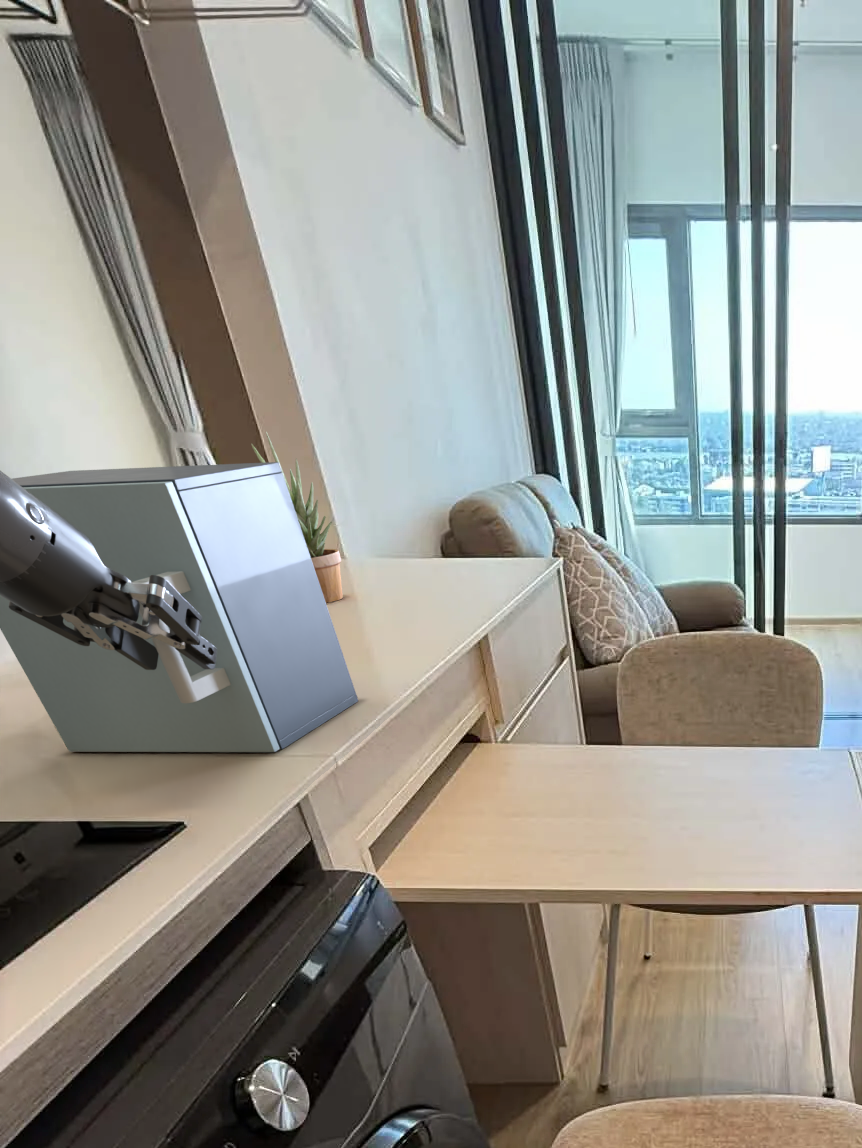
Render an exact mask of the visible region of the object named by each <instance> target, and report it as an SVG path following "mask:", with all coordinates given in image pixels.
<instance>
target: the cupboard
mask: <svg viewBox="0 0 862 1148" xmlns="http://www.w3.org/2000/svg"><path fill="white" fill-rule="evenodd" d="M279 462H280V461H279ZM279 462H275V461H272V462H271V461H270V462H269V461H267V462H265V463H261V462H248V463H247V462H245V463H223V464H222V463H221V464H201V465H199V464H198V465H197V464H196V465H175V466H173V465H172V466H155V467H154V466H153V467H152V466H151V467H150V466H149V467H129V468H128V467H127V468H106V469H86V470H85V469H83V470H81V469H80V470H66V471H59V472H52V473H44V474H36V475H28V476H21V477H13V478H12V477H11V479H12V480H14V481H15V482H16V483H17V484H19V485H20V486H21V487H46V486H71V485H96V484H121V483H146V482H172V483H173V485H174V487H175V490H176V492H177V495H178V497H179V500H180V502H181V505H182V507H183V510H184V512H185V515H186V517H187V520H188V522H189V525H190V527H191V530H192V532H193V535H194V537H195V539H196V542H197V544H198V547H199V549H200V552H201V554H202V557H203V559H204V562H205V564H206V567H207V569H208V572H209V574H210V577H211V579H212V582H213V584H214V587H215V589H216V592H217V594H218V596H219V599H220V601H221V604H222V606H223V609H224V611H225V614H226V616H227V619H228V621H229V624H230V626H231V629H232V631H233V634H234V636H235V639H236V641H237V644H238V646H239V649H240V651H241V653H242V656H243V658H244V661H245V663H246V666H247V668H248V671H249V673H250V676H251V678H252V681H253V683H254V686H255V688H256V691H257V693H258V696H259V698H260V701H261V703H262V706H263V708H264V710H265V713H266V715H267V718H268V720H269V723H270V725H271V728H272V730H273V733H274V735H275V738H276V740H277V743H278V745H279V748H280V749H279V750H284V749H285V748H287V747H289V746H290V745H291V744H293V743H294V742H296V741H298V740H299V739H301V738H303V737H304V736H306V735H308V734H309V733H311V732H312V731H314V730H315V729H317V728H319V727H320V726H322V725H324V724H325V723H326V722H328V721H330V720H331V719H333V718H334V717H336V716H338V715H339V714H340V713H342V712H344V711H345V710H347V709H349V708H350V707H352V706H353V705H356V703H358V702H359V698H358V695H357V692H356V688H355V686H354V683H353V680H352V677H351V674H350V671H349V668H348V665H347V662H346V659H345V656H344V653H343V650H342V646H341V644H340V641H339V638H338V635H337V633H336V629H335V627H334V624H333V620H332V617H331V614H330V611H329V608H328V604H327V603H326V602H325V599H324V596H323V593H322V590H321V587H320V584H319V581H318V578H317V575H316V572H315V569H314V566H313V563H312V560H311V557H310V554H309V551H308V548H307V545H306V542H305V539H304V536H303V533H302V530H301V527H300V524H299V521H298V518H297V515H296V512H295V509H294V506H293V503H292V500H291V497H290V494H289V491H288V488H287V485H286V482H285V479H284V476H283V473H281V472H282V471H281V468H282V467H281V468H280V465H281V464H280V465H279Z"/></svg>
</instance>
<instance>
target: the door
mask: <svg viewBox="0 0 862 1148" xmlns="http://www.w3.org/2000/svg"><path fill="white" fill-rule="evenodd" d="M23 488H24V489H25V490H27V491H28V492H29V493H31V494H32V495H33V496H35V497H36V498H37V499H39V500H40V501H41V502H43V503H44V504H45V505H46V506H48V507H49V508H50V509H52V510H53V511H54V512H56V513H57V514H58V515H60V516H61V517H62V518H64V519H65V520H66V521H68V522H69V523H70V524H72V525H73V526H74V527H75V528H77V529H78V530H79V531H81V532H82V533H83V534H84V535H85V536H86V537H87V538H88V539H89V540H90V541H91V543H92V545H93V546H94V548H95V550H96V552H97V554H98V556H99V558H100V560H101V561H102V563H103V564H104V565H105V566H106V567H108V568H110V569H112V570H113V571H115V572H118V573H120V574H122V575H124V576H125V577H127V578H128V579H129V580H130V581H131V582H132V583H142V584H149V579H150V576H151V575H157V576H160V577H162V578H164V579H166V580H167V581H168V582H169V583H170V584H171V585H172V586H173V587H174V588H175V589H176V590H177V592H178V593H179V594H180V595H181V596H182V597H183V598H184V599H185V600H186V601H187V602H188V603H189V604H190V605H191V606H192V607H193V608H194V609H195V610H196V611H197V612H198V613H199V614H200V615H201V616H202V622H201V624H200V631H199V635H200V636H202V637H203V638H204V639H206V640H207V641H208V642H209V643H211V644H212V645H214V646H215V647H216V649H217V656H216V664H215V668H214V669H203V668H202V667H200V666H199V665H197V664H196V663H195V662H193V661H192V660H190V659H189V658H187V657H186V656H184V655H183V654H182V653H180V652H179V651H177V650H176V649H175V647H173V646H170V645H168V644H166V643H164V642H162V641H160V640H158V639H156V638H150V639H144V640H146V641H147V642H149V643H150V644H152V645H153V646H155V647H156V649H157V651H158V654H159V655H158V662H157V668H156V669H155V670H146V669H144V668H142V667H141V666H139V665H138V664H136V663H134V662H133V661H131V660H130V659H128V658H127V657H125V656H123V655H122V654H120V653H119V652H117V651H116V650H108V649H104V648H102V647H100V646H99V645H98V644H97V643H96V642H91V641H90V646H82V645H79V644H77V643H75V642H73V641H71V640H69V639H67V638H65V637H63V636H61V635H59V634H57V633H55V632H53V631H51V630H50V629H48V628H46V627H44V626H42V625H40V624H38V623H36V622H34V621H32V620H30V619H28V618H26V617H24V616H22V615H20V614H18V613H16V612H14V611H12V610H11V609H10V608H9V602H10V601H9V600H7V599H6V598H4V597H2V596H1V595H0V631H1V633H2V635H3V636H4V638H5V640H6V642H7V643H8V645H9V647H10V649H11V651H12V652H13V654H14V656H15V658H16V660H17V661H18V664H19V665H20V667H21V668H22V670H23V672H24V674H25V676H26V678H27V679H28V680H29V683H30V685H31V686H32V688H33V690H34V692H35V693H36V696H37V697H38V699H39V701H40V702H41V704H42V706H43V708H44V710H45V711H46V713H47V715H48V716H49V719H50V720H51V723H52V724H53V726H54V727H55V729H56V731H57V733H58V735H59V736H60V738H61V740H62V742H63V743H64V745H65V747H66V749H67V751H68V752H69V753H71V752H73V753H75V752H76V753H78V752H79V753H80V752H81V753H127V752H128V753H276V752H278V751H279V750H281V749H280V748H279V745H278V743H277V740H276V738H275V735H274V733H273V730H272V728H271V725H270V723H269V720H268V718H267V715H266V713H265V710H264V708H263V706H262V703H261V701H260V698H259V696H258V693H257V691H256V688H255V686H254V683H253V681H252V678H251V676H250V673H249V671H248V668H247V666H246V663H245V661H244V658H243V656H242V653H241V651H240V649H239V646H238V644H237V641H236V639H235V636H234V634H233V631H232V629H231V626H230V624H229V621H228V619H227V616H226V614H225V611H224V609H223V606H222V604H221V601H220V599H219V596H218V594H217V592H216V589H215V587H214V584H213V582H212V579H211V577H210V574H209V572H208V569H207V567H206V564H205V562H204V559H203V557H202V554H201V552H200V549H199V547H198V544H197V542H196V539H195V537H194V535H193V532H192V530H191V527H190V525H189V522H188V520H187V517H186V515H185V512H184V510H183V507H182V505H181V502H180V500H179V497H178V495H177V492H176V490H175V487H174V485H173V483H172V482H146V483H121V484H96V485H71V486H46V487H23ZM139 604H140V609H139V616H138V620H137V622H136V623H139V624H141V625H142V620H143V613H144V607H143V606H142V604H141V603H140V602H139ZM63 623H64V624H65V625H66V626H67V627H69V628H71V629H73V630H74V625H73V624H72V623H70V622H67V621H66V620H65V619H63ZM159 627H160V628H161V629H162V630H164V631H166V632H168V633H170V628H169V627H168V626H167V625H166V624H165V623H164V622H163V621H162V620H159Z"/></svg>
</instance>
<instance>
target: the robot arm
mask: <svg viewBox="0 0 862 1148" xmlns="http://www.w3.org/2000/svg"><path fill="white" fill-rule="evenodd" d="M0 595H1V596H2V597H4V598H6V599H7V600H9V601H10V602H9V608H10V609H11V610H12V611H14V612H16V613H18V614H20V615H22V616H24V617H26V618H28V619H30V620H32V621H34V622H36V623H38V624H40V625H42V626H44V627H46V628H48V629H50V630H51V631H53V632H55V633H57V634H59V635H61V636H63V637H65V638H67V639H69V640H71V641H73V642H75V643H77V644H79V645H82V646H90V641H91V642H96V643H97V644H98V645H99V646H100V647H102V648H104V649H108V650H116V651H117V652H119V653H120V654H122V655H123V656H125V657H127V658H128V659H130V660H131V661H133V662H134V663H136V664H138V665H139V666H141V667H142V668H144V669H146V670H155V669H156V668H157V662H158V655H159V654H158V651H157V649H156V647H155V646H153V645H152V644H150V643H149V642H147V641H146V640H144V639H150V638H156V639H158V640H160V641H162V642H164V643H166V644H168V645H170V646H173V647H175V649H176V650H177V651H179V652H180V653H182V654H183V655H184V656H186V657H187V658H189V659H190V660H192V661H193V662H195V663H196V664H197V665H199V666H200V667H202V668H203V669H214V668H215V664H216V656H217V649H216V647H215V646H214V645H212V644H211V643H209V642H208V641H207V640H206V639H204V638H203V637H202V636H200V635H199V631H200V624H201V622H202V616H201V615H200V614H199V613H198V612H197V611H196V610H195V609H194V608H193V607H192V606H191V605H190V604H189V603H188V602H187V601H186V600H185V599H184V598H183V597H182V596H181V595H180V594H179V593H178V592H177V590H176V589H175V588H174V587H173V586H172V585H171V584H170V583H169V582H168V581H167V580H166V579H164V578H162V577H160V576H157V575H151V576H150V579H149V584H142V583H132V582H131V581H130V580H129V579H128V578H127V577H125V576H124V575H122V574H120V573H118V572H115V571H113V570H112V569H110V568H108V567H106V566H105V565H104V564H103V563H102V561H101V560H100V558H99V556H98V554H97V552H96V550H95V548H94V546H93V545H92V543H91V541H90V540H89V539H88V538H87V537H86V536H85V535H84V534H83V533H82V532H81V531H79V530H78V529H77V528H75V527H74V526H73V525H72V524H70V523H69V522H68V521H66V520H65V519H64V518H62V517H61V516H60V515H58V514H57V513H56V512H54V511H53V510H52V509H50V508H49V507H48V506H46V505H45V504H44V503H43V502H41V501H40V500H39V499H37V498H36V497H35V496H33V495H32V494H31V493H29V492H28V491H27V490H25V489H24V488H23V487H21V486H20V485H19V484H17V483H16V482H15V481H14V480H12V477H10V476H9V475H7V474H6V473H5V472H3V471H2V470H0ZM139 602H140V603H141V604H142V606H143V607H144V613H143V620H142V625H141V624H139V623H136V622H137V620H138V616H139V609H140V604H139ZM63 619H65V620H66V621H67V622H70V623H72V624H73V625H74V630H73V629H71V628H69V627H67V626H66V625H65V624H64V623H63ZM159 620H162V621H163V622H164V623H165V624H166V625H167V626H168V627H169V628H170V633H168V632H166V631H164V630H162V629H161V628H160V627H159Z"/></svg>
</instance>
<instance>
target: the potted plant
mask: <svg viewBox="0 0 862 1148" xmlns="http://www.w3.org/2000/svg"><path fill="white" fill-rule="evenodd" d="M265 434H266V438H267V442H268V444H269V447H270V450H271V455H272V456H273V459H274V462H279V465H280V468H281V471H282V472H281V473H283V476H284V479H285V482H286V485H287V488H288V491H289V494H290V497H291V500H292V503H293V506H294V509H295V512H296V515H297V518H298V521H299V524H300V527H301V530H302V533H303V536H304V539H305V542H306V545H307V548H308V551H309V554H310V557H311V560H312V563H313V566H314V569H315V572H316V575H317V578H318V581H319V584H320V587H321V590H322V593H323V596H324V599H325V602H326V604H328V603H333V602H336V601H340V600H341V599H343V597H344V595H343V586H342V576H341V562H342V556H341V554H340V551H339V549H336V548H325V546H326V540H327V536H328V535H329V534H328V533H329V530H330V528H331V526H332V523H333V522H332V521H330V522H329V523H328V524H327V526H326V527H325V528H324V529H323V526H324V524H325V521H326V518H327V517H326V516H325V515H324V516H323V517H322V519H321V521H320V524H319V512H318V508H319V500H318V499H316V501H315V504H314V491H315V490H314V489H315V488H314V483H313V481H312V482H311V483H310V489H309V495H308V498H307V501H306V502H304V495H303V485H302V479H301V472H300V466H299V462H298V458H296V457H295V476H294V473H293V472H292V469H291V468H290V469H289V476H290V485H289V482H288V480H287V477H286V475H285V472H284V470H283V468H282V465H281V462H280V460H279V457H278V455H277V453H276V451H275V448H274V445H273V443H272V441H271V438H270V436H269V433H268V431H265ZM251 447H252V450H253V451H254V454H255V455H256V457H257V459H258V460H259V463H266V461H265V459H264V458H263V457H262V456H261V454H260V453H259V451H258V450H257V448H256V447H255V446H254V444H251ZM290 486H291V487H290ZM318 524H319V525H318ZM322 529H323V531H322ZM321 531H322V532H321Z"/></svg>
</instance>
